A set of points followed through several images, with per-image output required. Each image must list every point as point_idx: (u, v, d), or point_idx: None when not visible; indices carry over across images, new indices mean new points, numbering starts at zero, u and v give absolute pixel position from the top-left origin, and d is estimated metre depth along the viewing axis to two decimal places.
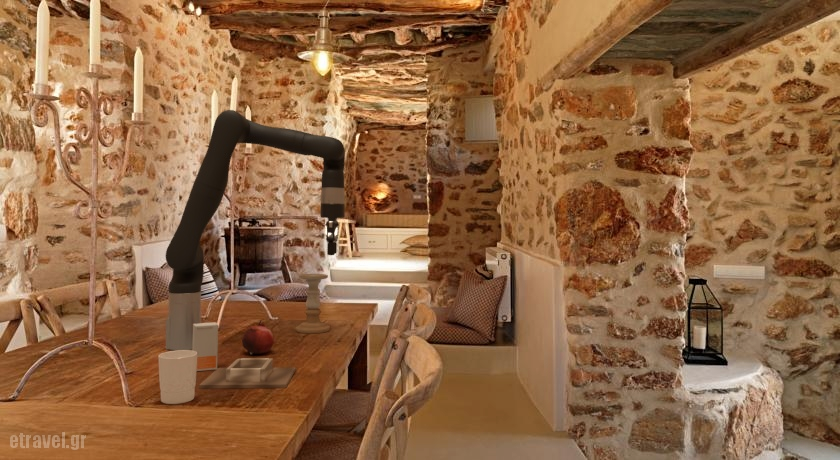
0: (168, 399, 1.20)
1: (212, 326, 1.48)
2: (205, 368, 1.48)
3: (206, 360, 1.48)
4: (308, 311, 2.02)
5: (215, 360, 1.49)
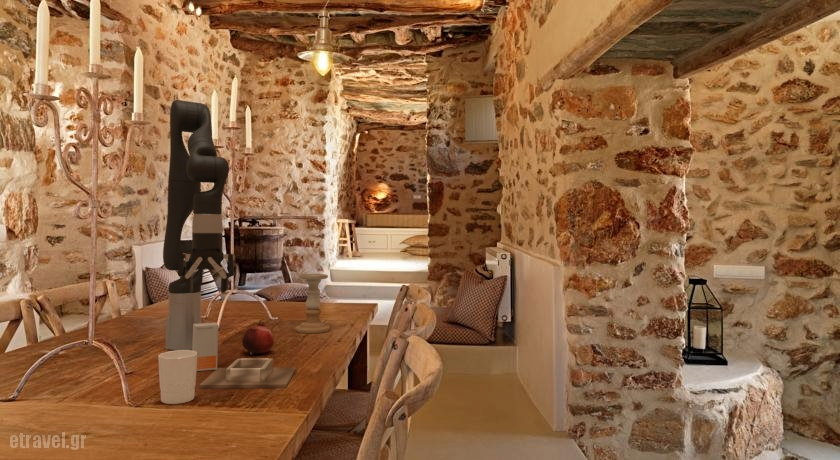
0: (168, 399, 1.20)
1: (212, 326, 1.48)
2: (205, 368, 1.48)
3: (206, 360, 1.48)
4: (308, 311, 2.02)
5: (215, 360, 1.49)
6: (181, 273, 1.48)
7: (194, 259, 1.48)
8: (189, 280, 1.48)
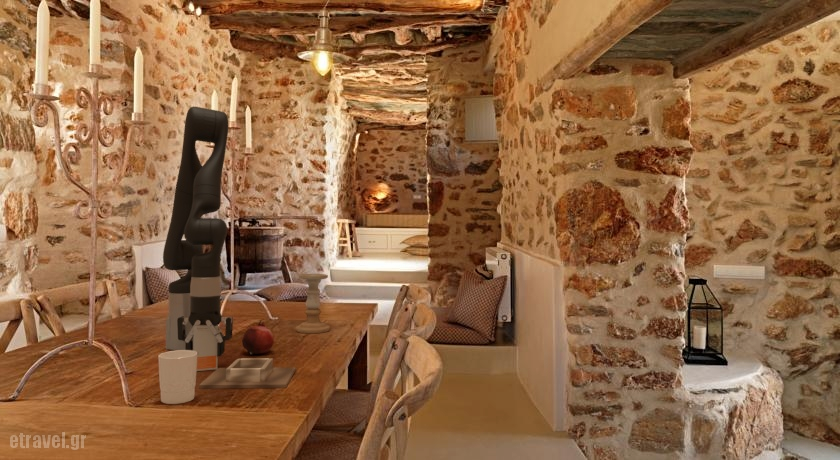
0: (168, 399, 1.20)
1: None
2: (205, 368, 1.48)
3: (206, 360, 1.48)
4: (308, 311, 2.02)
5: (215, 360, 1.49)
6: (181, 337, 1.48)
7: (192, 322, 1.48)
8: (189, 344, 1.48)
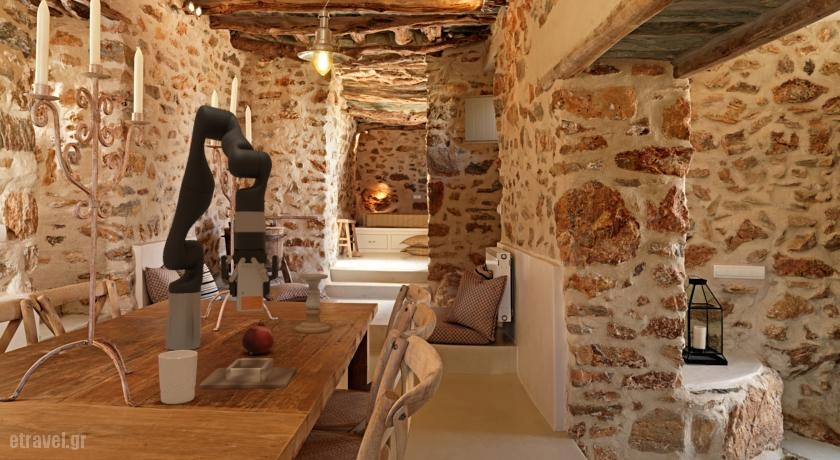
0: (168, 399, 1.20)
1: None
2: (251, 309, 1.38)
3: (252, 300, 1.38)
4: (308, 311, 2.02)
5: (261, 301, 1.40)
6: (225, 276, 1.39)
7: (237, 260, 1.39)
8: (233, 284, 1.39)
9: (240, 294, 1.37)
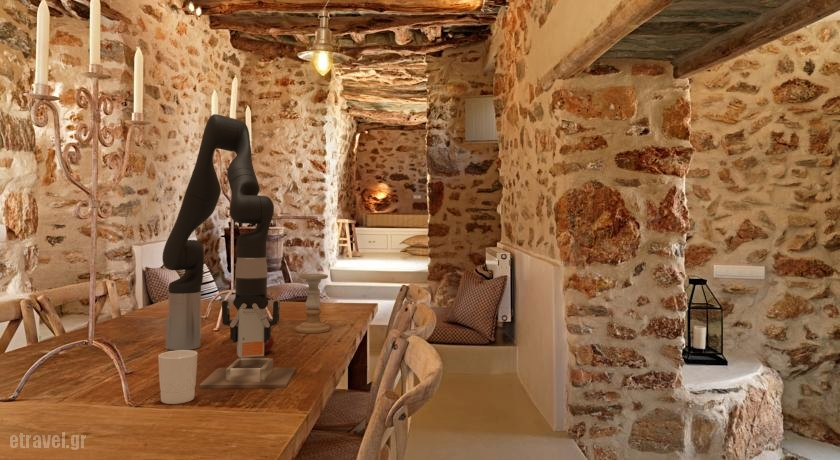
0: (168, 399, 1.20)
1: None
2: (251, 354, 1.39)
3: (253, 346, 1.39)
4: (308, 311, 2.02)
5: (262, 346, 1.40)
6: (226, 322, 1.39)
7: (238, 305, 1.39)
8: (234, 329, 1.39)
9: (241, 340, 1.37)
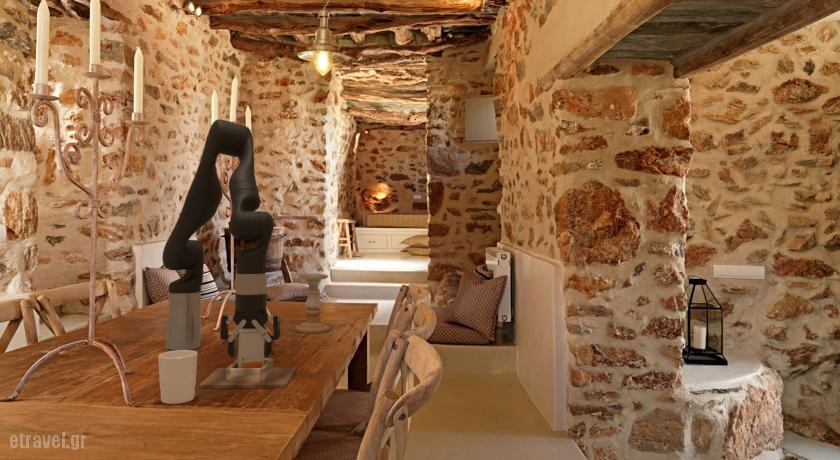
0: (168, 399, 1.20)
1: None
2: None
3: (252, 366, 1.39)
4: (308, 311, 2.02)
5: (261, 366, 1.40)
6: (224, 336, 1.39)
7: (237, 321, 1.39)
8: (232, 344, 1.39)
9: (240, 360, 1.37)
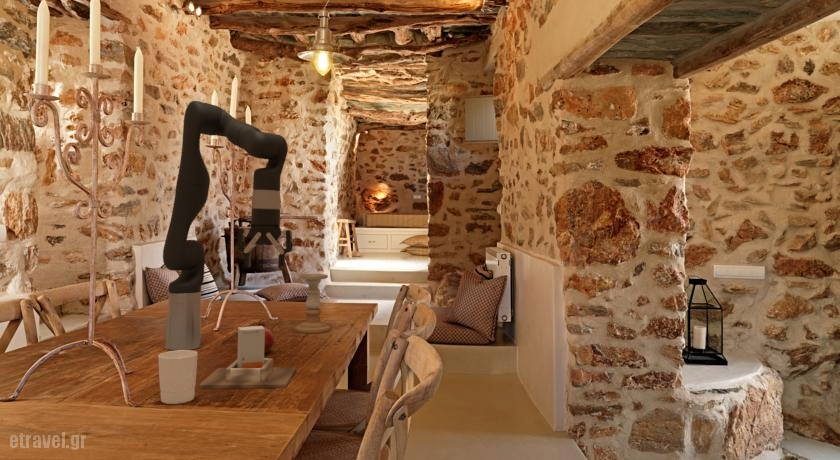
0: (168, 399, 1.20)
1: (258, 330, 1.39)
2: None
3: (252, 366, 1.39)
4: (308, 311, 2.02)
5: (261, 366, 1.40)
6: (240, 248, 1.51)
7: (253, 234, 1.51)
8: (248, 255, 1.51)
9: (240, 360, 1.37)
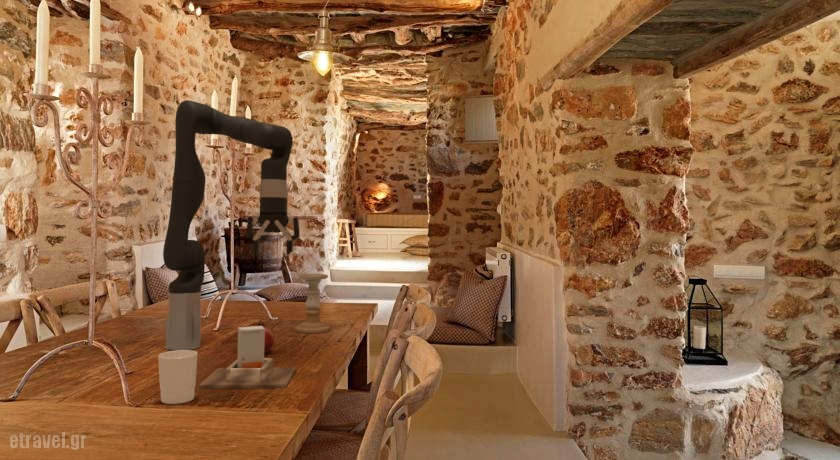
0: (168, 399, 1.20)
1: (258, 330, 1.39)
2: None
3: (252, 366, 1.39)
4: (308, 311, 2.02)
5: (261, 366, 1.40)
6: (249, 235, 1.56)
7: (261, 222, 1.57)
8: (257, 242, 1.57)
9: (240, 360, 1.37)
